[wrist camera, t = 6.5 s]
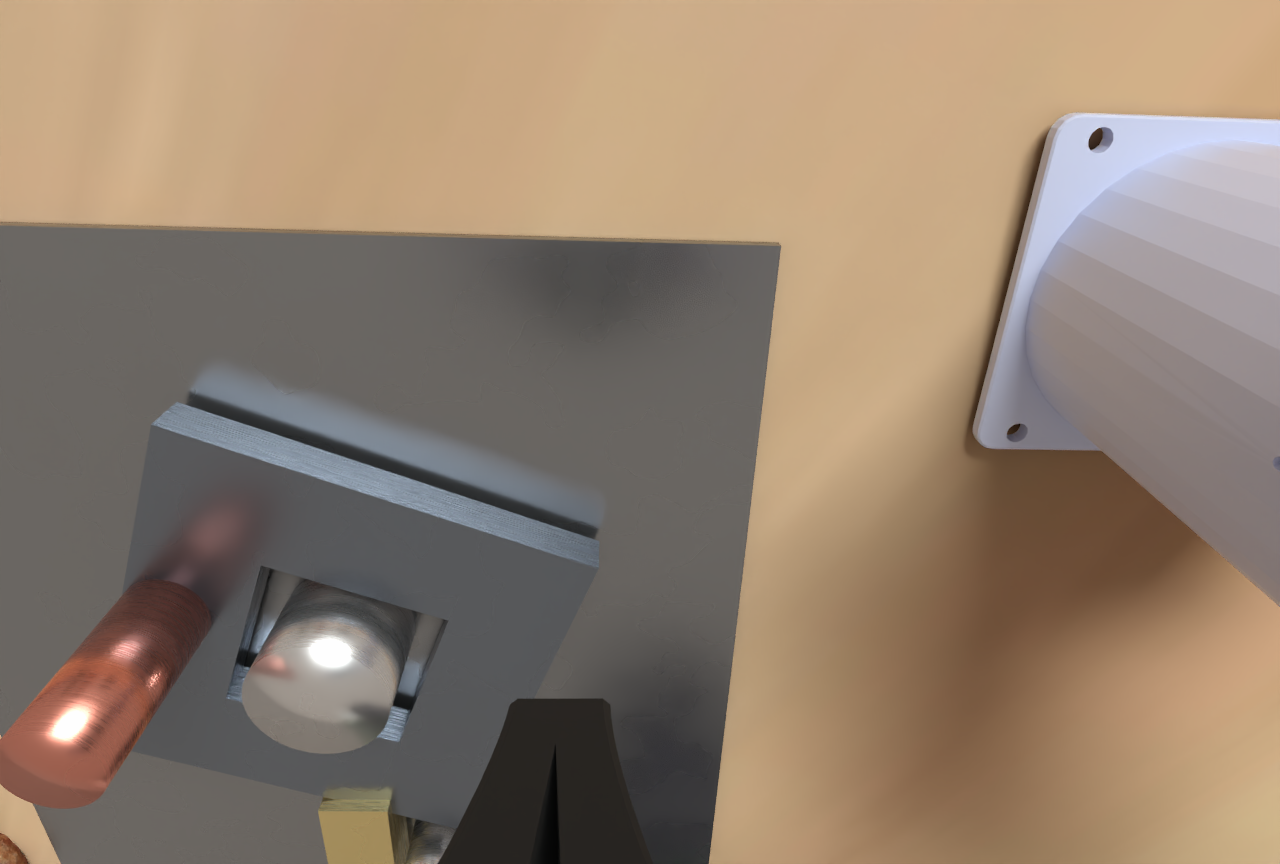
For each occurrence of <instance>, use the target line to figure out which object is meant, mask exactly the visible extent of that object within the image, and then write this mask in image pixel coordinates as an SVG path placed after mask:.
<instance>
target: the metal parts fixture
mask: <svg viewBox="0 0 1280 864" xmlns="http://www.w3.org/2000/svg"><path fill="white" fill-rule="evenodd" d="M270 568H271V569H274V570H278V571H281V572H285V573H288V574H291V575H295V576H298V577H302V578H305V579H308V580H312V581H315V582H319V583H322V584H325V585H329V586H332V587H336V588H339V589H342V590H346V591H349V592H353V593H356V594H359V595H363V596H366V597H370V598H373V599H376V600H380V601H383V602H386V603H390V604H393V605H397V606H400V607H403V608H407V609H410V610H414V611H417V612H420V613H424V614H427V615H431V616H434V617H437V618H441V619H444V620H445V621H444V623H443V626H442V628H441V631H440V633H439V636H438V638H437V641H436V643H435V646H434V648H433V651H432V653H431V655H430V658H429V660H428V663H427V665H426V668H425V670H424V673H423V675H422V678H421V680H420V683H419V685H418V688H417V690H416V692H415V695H414V697H413V700H412V702H411V705H410V707H409V710H406V709H402V708H398V707H395V706H392V709H391V712H390V715H389V718H388V721H387V724H386V726H385V728H384V729H383V731H382V732H381V733H380V734H379V735H378V736H377V737H376V738H375V739H374V740H372V741H371V742H370V743H368V744H366V745H364V746H362V747H360V748H357V749H355V750H351V751H347V752H342V753H334V754H318V753H310V752H305V751H300V750H297V749H293V748H290V747H288V746H285V745H283V744H281V743H279V742H277V741H275V740H273V739H272V738H270V737H269V736H267V735H266V734H264V733H263V732H262V731H261V730H260V729H259V728H258V727H257V726H256V725H255V724H254V723H253V722H252V721H251V719H250V718H249V716H248V715H247V713H246V711H245V708H244V706H243V702H242V697H241V695H242V685H243V681H244V679H245V677H246V675H247V673H248V671H249V669H250V668H249V667H245V666H244V664H245V660H246V656H247V653H248V649H249V645H250V642H251V638H252V634H253V631H254V627H255V623H256V619H257V616H258V612H259V608H260V605H261V601H262V597H263V594H264V590H265V586H266V583H267V579H268V575H269V571H270ZM598 569H599V541H597V540H594V539H591V538H588V537H585V536H582V535H579V534H576V533H573V532H570V531H567V530H564V529H561V528H558V527H555V526H552V525H549V524H546V523H543V522H540V521H537V520H534V519H531V518H528V517H525V516H522V515H519V514H515V513H512V512H509V511H506V510H503V509H500V508H497V507H494V506H491V505H488V504H485V503H482V502H479V501H476V500H473V499H470V498H467V497H464V496H461V495H458V494H455V493H452V492H449V491H446V490H443V489H440V488H437V487H434V486H431V485H428V484H425V483H422V482H419V481H415V480H412V479H409V478H406V477H403V476H400V475H397V474H394V473H391V472H388V471H385V470H382V469H379V468H376V467H373V466H370V465H367V464H364V463H361V462H358V461H355V460H352V459H349V458H346V457H343V456H340V455H337V454H334V453H331V452H328V451H325V450H322V449H319V448H315V447H312V446H309V445H306V444H303V443H300V442H297V441H294V440H291V439H288V438H285V437H282V436H279V435H276V434H273V433H270V432H267V431H264V430H261V429H258V428H255V427H252V426H249V425H246V424H243V423H240V422H237V421H234V420H231V419H228V418H225V417H222V416H219V415H215V414H212V413H209V412H206V411H203V410H200V409H197V408H194V407H191V406H188V405H185V404H182V403H179V402H176V403H175V404H174V405H173V406H172V407H170V408H169V409H168V410H167V411H166V412H165V413H164V414H162V415H161V416H160V417H159V418H158V419H157V420H156V421H155V422H153V423H152V424H151V428H150V434H149V440H148V445H147V451H146V457H145V463H144V469H143V475H142V480H141V486H140V492H139V498H138V504H137V510H136V515H135V521H134V527H133V533H132V539H131V545H130V550H129V556H128V562H127V568H126V574H125V580H124V585H123V591H122V596H121V597H120V598H119V599H118V601H117V602H116V603H115V604H114V605H113V607H112V608H111V609H110V610H109V611H108V612H107V614H106V615H105V616H104V617H103V618H102V620H101V621H100V622H99V623H98V624H97V625H96V627H95V628H94V629H93V630H92V631H91V633H90V634H89V635H88V636H87V637H86V638H85V640H84V641H83V642H82V643H81V644H80V646H79V647H78V648H77V649H76V650H75V652H74V653H73V654H72V655H71V656H70V657H69V659H68V660H67V661H66V662H65V663H64V665H63V666H62V667H61V668H60V669H59V670H58V672H57V673H56V674H55V675H54V676H53V678H52V679H51V680H50V681H49V682H48V683H47V685H46V686H45V687H44V688H43V689H42V691H41V692H40V693H39V694H38V695H37V697H36V698H35V699H34V700H33V701H32V702H31V704H30V705H29V706H28V707H27V708H26V710H25V711H24V712H23V713H22V714H21V715H20V717H19V718H18V719H17V720H16V721H15V723H14V724H13V725H12V726H11V727H10V728H9V730H8V731H7V732H6V733H5V734H4V736H3V737H2V738H1V739H0V784H1V785H2V786H3V787H4V788H5V789H7V790H8V791H9V792H11V793H12V794H14V795H16V796H17V797H19V798H21V799H23V800H26V801H28V802H31V803H34V804H36V805H40V806H44V807H50V808H58V809H69V808H78V807H82V806H86V805H88V804H91V803H93V802H94V801H96V800H97V799H98V798H100V797H101V795H102V794H103V793H104V791H105V790H106V788H107V787H108V785H109V784H110V782H111V781H112V779H113V778H114V776H115V775H116V773H117V772H118V770H119V768H120V767H121V765H122V764H123V762H124V761H125V759H126V758H127V756H128V755H129V753H130V752H131V751H133V752H137V753H141V754H145V755H149V756H154V757H158V758H162V759H166V760H170V761H175V762H179V763H183V764H187V765H191V766H196V767H200V768H204V769H208V770H212V771H217V772H221V773H225V774H229V775H233V776H237V777H242V778H246V779H250V780H254V781H258V782H263V783H267V784H271V785H275V786H279V787H284V788H288V789H292V790H296V791H300V792H305V793H309V794H313V795H317V796H321V797H323V799H322V802H321V804H320V807H319V810H318V814H319V819H320V824H321V829H322V835H323V840H324V845H325V850H326V855H327V860H328V864H405V861H406V857H407V853H408V849H409V839H408V830H407V822H406V817H410V818H414V819H418V820H422V821H426V822H431V823H435V824H439V825H443V826H447V827H452V828H456V829H457V827H458V825H459V823H460V821H461V819H462V817H463V815H464V813H465V811H466V809H467V807H468V805H469V803H470V801H471V799H472V797H473V795H474V793H475V791H476V789H477V787H478V785H479V783H480V781H481V779H482V776H483V774H484V772H485V770H486V767H487V765H488V763H489V761H490V758H491V756H492V754H493V751H494V749H495V746H496V744H497V741H498V739H499V736H500V733H501V731H502V728H503V725H504V722H505V719H506V716H507V713H508V709H509V706H510V704H511V703H513V702H514V701H515V700H516V699H534V698H535V696H536V694H537V692H538V690H539V688H540V686H541V684H542V682H543V680H544V678H545V676H546V674H547V672H548V670H549V668H550V666H551V664H552V662H553V660H554V658H555V656H556V654H557V652H558V650H559V648H560V646H561V644H562V642H563V640H564V638H565V636H566V634H567V632H568V630H569V628H570V626H571V624H572V622H573V620H574V618H575V616H576V614H577V612H578V609H579V607H580V605H581V603H582V601H583V599H584V597H585V595H586V593H587V591H588V589H589V587H590V585H591V583H592V581H593V579H594V577H595V575H596V573H597V571H598Z"/></svg>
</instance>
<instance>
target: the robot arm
mask: <svg viewBox="0 0 1280 864" xmlns="http://www.w3.org/2000/svg"><path fill="white" fill-rule="evenodd" d="M1098 128H1101V129H1102V131H1103V139H1102V141H1101V142H1100V144H1099V145H1098V146H1097V147H1096V148H1095V149H1093V150H1090V149H1089V147H1088V140H1089V138H1090V136H1091V134H1092V133H1093V132H1094V131H1095V130H1097V129H1098ZM1019 423H1020V427H1019V429H1018V431H1016V432H1015V433H1013V434H1010V435H1007V432H1008V430H1009V428H1010V427H1012V426H1013V425H1015V424H1019ZM973 435H974V437H975V439H976V440H977V441H978V442H979V443H980V444H981V445H982V446H984V447H985V448H990V449H1026V450H1096V451H1102V452H1103V453H1105V454H1106V455H1107V456H1108V457H1109V458H1110V459H1111V460H1113V461H1114V462H1115V463H1116V464H1117V465H1118V466H1119V467H1121V468H1122V469H1123V470H1124V471H1125V472H1126V473H1127V474H1129V475H1130V476H1131V477H1132V478H1133V479H1134V480H1135V481H1137V482H1138V483H1139V484H1140V485H1141V486H1142V487H1143V488H1145V489H1146V490H1147V491H1148V492H1149V493H1150V494H1151V495H1153V496H1154V497H1155V498H1156V499H1157V500H1158V501H1159V502H1161V503H1162V504H1163V505H1164V506H1165V507H1166V508H1167V509H1169V510H1170V511H1171V512H1172V513H1173V514H1174V515H1175V516H1177V517H1178V518H1179V519H1180V520H1181V521H1182V522H1183V523H1185V524H1186V525H1187V526H1188V527H1189V528H1190V529H1191V530H1193V531H1194V532H1195V533H1196V534H1197V535H1198V536H1199V537H1201V538H1202V539H1203V540H1204V541H1205V542H1206V543H1207V544H1209V545H1210V546H1211V547H1212V548H1213V549H1214V550H1215V551H1217V552H1218V553H1219V554H1220V555H1221V556H1222V557H1223V558H1225V559H1226V560H1227V561H1228V562H1229V563H1230V564H1231V565H1233V566H1234V567H1235V568H1236V569H1237V570H1238V571H1239V572H1241V573H1242V574H1243V575H1244V576H1245V577H1246V578H1247V579H1249V580H1250V581H1251V582H1252V583H1253V584H1254V585H1255V586H1257V587H1258V588H1259V589H1260V590H1261V591H1262V592H1263V593H1265V594H1266V595H1267V596H1268V597H1269V598H1270V599H1271V600H1273V601H1274V602H1275V603H1276V604H1277V605H1278V606H1279V607H1280V120H1278V119H1249V118H1221V117H1192V116H1163V115H1135V114H1106V113H1077V112H1076V113H1070V114H1066V115H1064V116H1063V117H1061V118H1059V119H1058V120H1057V121H1056V122H1055V123H1054V124H1053V125H1052V127H1051V128H1050V131H1049V133H1048V135H1047V138H1046V142H1045V146H1044V150H1043V154H1042V157H1041V161H1040V165H1039V169H1038V173H1037V177H1036V181H1035V185H1034V189H1033V193H1032V197H1031V201H1030V204H1029V208H1028V212H1027V216H1026V220H1025V224H1024V228H1023V232H1022V236H1021V240H1020V244H1019V247H1018V251H1017V255H1016V259H1015V263H1014V267H1013V271H1012V275H1011V279H1010V283H1009V287H1008V290H1007V294H1006V298H1005V302H1004V306H1003V310H1002V314H1001V318H1000V322H999V326H998V330H997V334H996V337H995V341H994V345H993V349H992V353H991V357H990V361H989V365H988V369H987V373H986V377H985V380H984V384H983V388H982V392H981V396H980V400H979V404H978V408H977V412H976V416H975V420H974V424H973ZM438 864H653V861H652V859H651V856H650V854H649V851H648V848H647V846H646V843H645V840H644V837H643V834H642V831H641V828H640V826H639V823H638V820H637V817H636V814H635V811H634V808H633V805H632V802H631V799H630V796H629V793H628V789H627V786H626V783H625V779H624V775H623V772H622V768H621V764H620V760H619V756H618V752H617V748H616V743H615V738H614V733H613V726H612V719H611V707H610V704H609V703H608V702H607V701H605V700H604V699H603V698H580V699H516V700H515V701H514V702H513V703H511V704H510V706H509V709H508V713H507V716H506V719H505V722H504V725H503V728H502V731H501V733H500V736H499V739H498V741H497V744H496V746H495V749H494V751H493V754H492V756H491V758H490V761H489V763H488V765H487V767H486V770H485V772H484V774H483V776H482V779H481V781H480V783H479V785H478V787H477V789H476V791H475V793H474V795H473V797H472V799H471V801H470V803H469V805H468V807H467V809H466V811H465V813H464V815H463V817H462V819H461V821H460V823H459V825H458V827H457V829H456V831H455V833H454V835H453V837H452V839H451V841H450V843H449V845H448V846H447V848H446V850H445V852H444V853H443V855H442V857H441V859H440V860H439V862H438Z"/></svg>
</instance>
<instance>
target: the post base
mask: <svg viewBox="0 0 1280 864" xmlns="http://www.w3.org/2000/svg"><path fill="white" fill-rule="evenodd" d="M780 250H781V245H780V244H779V243H772V242H734V241H696V240H659V239H621V238H583V237H545V236H507V235H469V234H431V233H394V232H356V231H318V230H280V229H242V228H204V227H166V226H129V225H91V224H53V223H15V222H0V735H1V737H3V736H4V734H5V733H6V732H7V731H8V730H9V728H10V727H11V726H12V725H13V724H14V723H15V721H16V720H17V719H18V718H19V717H20V715H21V714H22V713H23V712H24V711H25V710H26V708H27V707H28V706H29V705H30V704H31V702H32V701H33V700H34V699H35V698H36V697H37V695H38V694H39V693H40V692H41V691H42V689H43V688H44V687H45V686H46V685H47V683H48V682H49V681H50V680H51V679H52V678H53V676H54V675H55V674H56V673H57V672H58V670H59V669H60V668H61V667H62V666H63V665H64V663H65V662H66V661H67V660H68V659H69V657H70V656H71V655H72V654H73V653H74V652H75V650H76V649H77V648H78V647H79V646H80V644H81V643H82V642H83V641H84V640H85V638H86V637H87V636H88V635H89V634H90V633H91V631H92V630H93V629H94V628H95V627H96V625H97V624H98V623H99V622H100V621H101V620H102V618H103V617H104V616H105V615H106V614H107V612H108V611H109V610H110V609H111V608H112V607H113V605H114V604H115V603H116V602H117V601H118V599H119V598H120V597H121V596H122V591H123V585H124V580H125V574H126V568H127V562H128V556H129V550H130V545H131V539H132V533H133V527H134V521H135V515H136V510H137V504H138V498H139V492H140V486H141V480H142V475H143V469H144V463H145V457H146V451H147V445H148V440H149V434H150V428H151V424H152V423H153V422H155V421H156V420H157V419H158V418H159V417H160V416H161V415H162V414H164V413H165V412H166V411H167V410H168V409H169V408H170V407H172V406H173V405H174V404H175V403H176V402H179V403H182V404H185V405H188V406H191V407H194V408H197V409H200V410H203V411H206V412H209V413H212V414H215V415H219V416H222V417H225V418H228V419H231V420H234V421H237V422H240V423H243V424H246V425H249V426H252V427H255V428H258V429H261V430H264V431H267V432H270V433H273V434H276V435H279V436H282V437H285V438H288V439H291V440H294V441H297V442H300V443H303V444H306V445H309V446H312V447H315V448H319V449H322V450H325V451H328V452H331V453H334V454H337V455H340V456H343V457H346V458H349V459H352V460H355V461H358V462H361V463H364V464H367V465H370V466H373V467H376V468H379V469H382V470H385V471H388V472H391V473H394V474H397V475H400V476H403V477H406V478H409V479H412V480H415V481H419V482H422V483H425V484H428V485H431V486H434V487H437V488H440V489H443V490H446V491H449V492H452V493H455V494H458V495H461V496H464V497H467V498H470V499H473V500H476V501H479V502H482V503H485V504H488V505H491V506H494V507H497V508H500V509H503V510H506V511H509V512H512V513H515V514H519V515H522V516H525V517H528V518H531V519H534V520H537V521H540V522H543V523H546V524H549V525H552V526H555V527H558V528H561V529H564V530H567V531H570V532H573V533H576V534H579V535H582V536H585V537H588V538H591V539H594V540H597V541H599V569H598V571H597V573H596V575H595V577H594V579H593V581H592V583H591V585H590V587H589V589H588V591H587V593H586V595H585V597H584V599H583V601H582V603H581V605H580V607H579V609H578V612H577V614H576V616H575V618H574V620H573V622H572V624H571V626H570V628H569V630H568V632H567V634H566V636H565V638H564V640H563V642H562V644H561V646H560V648H559V650H558V652H557V654H556V656H555V658H554V660H553V662H552V664H551V666H550V668H549V670H548V672H547V674H546V676H545V678H544V680H543V682H542V684H541V686H540V688H539V690H538V692H537V694H536V696H535V698H534V699H580V698H603V699H604V700H605V701H607V702H608V703H609V704H610V707H611V719H612V726H613V733H614V738H615V743H616V748H617V752H618V756H619V760H620V764H621V768H622V772H623V775H624V779H625V783H626V786H627V789H628V793H629V796H630V799H631V802H632V805H633V808H634V811H635V814H636V817H637V820H638V823H639V826H640V828H641V831H642V834H643V837H644V840H645V843H646V846H647V848H648V851H649V854H650V856H651V859H652V861H653V864H709V856H710V847H711V839H712V830H713V821H714V813H715V804H716V796H717V787H718V779H719V770H720V762H721V753H722V745H723V736H724V728H725V719H726V711H727V702H728V693H729V685H730V676H731V668H732V659H733V651H734V642H735V634H736V625H737V617H738V608H739V600H740V591H741V583H742V574H743V565H744V557H745V548H746V540H747V531H748V523H749V514H750V506H751V497H752V489H753V480H754V472H755V463H756V455H757V446H758V437H759V429H760V420H761V412H762V403H763V395H764V386H765V378H766V369H767V361H768V352H769V344H770V335H771V327H772V318H773V309H774V301H775V292H776V284H777V275H778V267H779V258H780ZM444 621H445V620H444V619H441V618H437V617H434V616H431V615H427V614H424V613H420V612H417V611H414V610H410V609H407V608H403V607H400V606H397V605H393V604H390V603H386V602H383V601H380V600H376V599H373V598H370V597H366V596H363V595H359V594H356V593H353V592H349V591H346V590H342V589H339V588H336V587H332V586H329V585H325V584H322V583H319V582H315V581H312V580H308V579H305V578H302V577H298V576H295V575H291V574H288V573H285V572H281V571H278V570H274V569H271V568H270V571H269V575H268V579H267V583H266V586H265V590H264V594H263V597H262V601H261V605H260V608H259V612H258V616H257V619H256V623H255V627H254V631H253V634H252V638H251V642H250V645H249V649H248V653H247V656H246V660H245V664H244V666H245V667H249V668H250V669H249V671H248V673H247V675H246V677H245V679H244V681H243V685H242V695H241V697H242V702H243V706H244V708H245V711H246V713H247V715H248V716H249V718H250V719H251V721H252V722H253V723H254V724H255V725H256V726H257V727H258V728H259V729H260V730H261V731H262V732H263V733H264V734H266V735H267V736H269V737H270V738H272V739H273V740H275V741H277V742H279V743H281V744H283V745H285V746H288V747H290V748H293V749H297V750H300V751H305V752H310V753H318V754H334V753H342V752H347V751H351V750H355V749H357V748H360V747H362V746H364V745H366V744H368V743H370V742H371V741H372V740H374V739H375V738H376V737H377V736H378V735H379V734H380V733H381V732H382V731H383V729H384V728H385V726H386V724H387V721H388V718H389V715H390V712H391V709H392V706H395V707H398V708H402V709H406V710H409V707H410V705H411V702H412V700H413V697H414V695H415V692H416V690H417V688H418V685H419V683H420V680H421V678H422V675H423V673H424V670H425V668H426V665H427V663H428V660H429V658H430V655H431V653H432V651H433V648H434V646H435V643H436V641H437V638H438V636H439V633H440V631H441V628H442V626H443V623H444ZM322 799H323V797H321V796H317V795H313V794H309V793H305V792H300V791H296V790H292V789H288V788H284V787H279V786H275V785H271V784H267V783H263V782H258V781H254V780H250V779H246V778H242V777H237V776H233V775H229V774H225V773H221V772H217V771H212V770H208V769H204V768H200V767H196V766H191V765H187V764H183V763H179V762H175V761H170V760H166V759H162V758H158V757H154V756H149V755H145V754H141V753H137V752H133V751H131V752H130V753H129V755H128V756H127V758H126V759H125V761H124V762H123V764H122V765H121V767H120V768H119V770H118V772H117V773H116V775H115V776H114V778H113V779H112V781H111V782H110V784H109V785H108V787H107V788H106V790H105V791H104V793H103V794H102V795H101V797H100V798H98V799H97V800H96V801H94V802H93V803H91V804H88V805H86V806H82V807H78V808H69V809H58V808H50V807H44V806H40V805H36V804H34V803H33V805H34V807H35V809H36V811H37V813H38V816H39V818H40V820H41V822H42V824H43V826H44V828H45V830H46V833H47V835H48V837H49V839H50V841H51V843H52V845H53V847H54V850H55V852H56V854H57V856H58V858H59V860H60V862H61V864H328V860H327V855H326V850H325V845H324V840H323V835H322V829H321V824H320V819H319V814H318V810H319V807H320V804H321V802H322ZM415 820H416V819H414V818H410V817H406V822H407V830H408V839H409V845H410V841H411V836H412V832H413V828H414V824H415Z"/></svg>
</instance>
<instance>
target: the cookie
mask: <svg viewBox="0 0 1280 864" xmlns="http://www.w3.org/2000/svg"><path fill="white" fill-rule="evenodd" d="M0 864H28V862H27V860H26V858H25V856H24V855H23V854H22V853H21V852H20V849H19V848H18V847H17V846H16V845H15V844H14V843H13V842H12V841H11V840H10V839H9V838H8V837H7V836H6V835H4V834H1V833H0Z"/></svg>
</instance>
